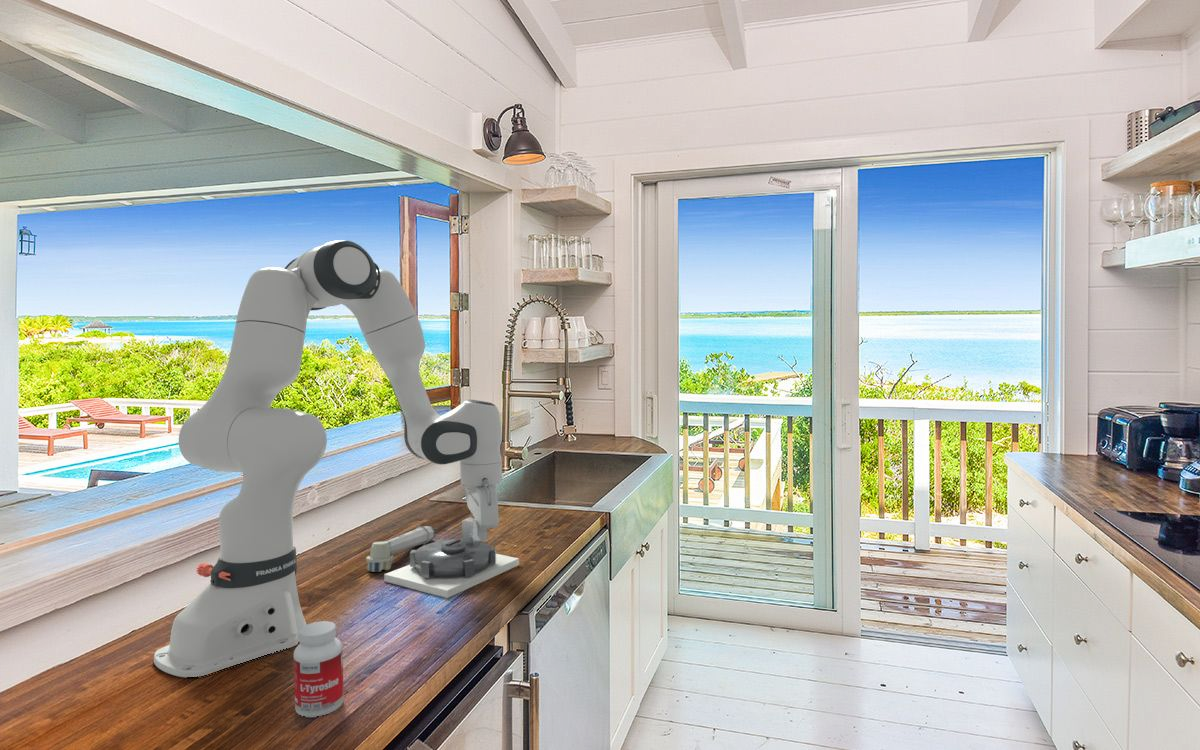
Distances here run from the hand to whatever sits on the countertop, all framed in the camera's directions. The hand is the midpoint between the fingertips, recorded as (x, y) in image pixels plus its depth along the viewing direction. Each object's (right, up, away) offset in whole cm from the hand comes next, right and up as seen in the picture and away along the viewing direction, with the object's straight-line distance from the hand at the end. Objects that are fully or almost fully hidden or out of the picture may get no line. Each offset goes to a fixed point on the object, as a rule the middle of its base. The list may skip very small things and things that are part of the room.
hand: (482, 538), depth 145 cm
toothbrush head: (-21, -7, +12) cm, 25 cm away
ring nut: (-6, -5, -1) cm, 8 cm away
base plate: (-6, -7, -1) cm, 10 cm away
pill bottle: (-13, -10, -53) cm, 55 cm away
